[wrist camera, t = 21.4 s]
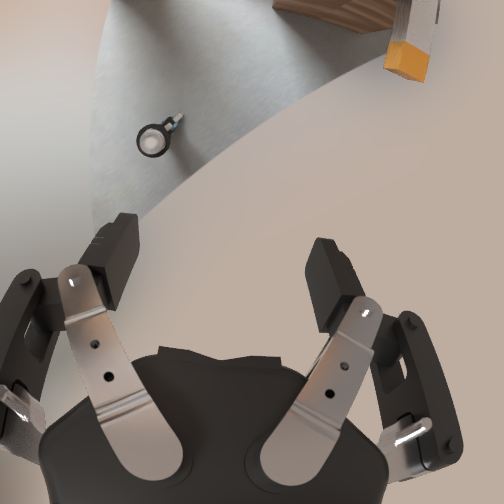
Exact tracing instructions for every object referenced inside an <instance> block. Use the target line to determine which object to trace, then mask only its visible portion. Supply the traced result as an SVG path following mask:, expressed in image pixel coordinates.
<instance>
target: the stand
mask: <svg viewBox="0 0 504 504" xmlns="http://www.w3.org/2000/svg"><path fill="white" fill-rule="evenodd" d="M396 6H397V0H274V2H273V6H272V8H276V9H281V10H285V11H290V12H294V13H298V14H302V15H306V16H310V17H313V18H317V19H320V20H323V21H326V22H330V23H333V24H336V25H338V26H341V27H344V28H347V29H350V30H352V31H355V32H357V33H360V34H364V33H369V32H374V31H380V30H386V29H392V28H393V23H394V18H395V12H396ZM439 9H440V0H438V6H437V14H436V21H435V24H437V23H438V16H439Z"/></svg>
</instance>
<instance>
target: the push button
mask: <svg viewBox="0 0 504 504" xmlns="http://www.w3.org/2000/svg"><path fill="white" fill-rule="evenodd" d="M179 115H180V116H179ZM182 116H183V114H182V113H181V112H180V113H179V114H178V115H177V116H175V117H174V118H173V117H172V118H171V117H169V118H167V119H166V120H165V121H163V122H162V123H161V124H150V125H147V126H145V127H143V128H142V129H141V130H140V131H139V133H138V135H137V140H136V142H137V147H138V149H139V151H140V152H141V153H142V154H143V155H145V156H147V157H151V158H156V157H159V156H161V155H163V154H164V153H165V152H166V151H167V150H168V148H169V145H170V137H171V136H172V135H173V134H174V133H175V132H174V133H172V132H171V131H172V130H173V129H174V128H175V127H176V126H177V125H178V124H179V122H178V121H179V120H180V118H181V117H182ZM150 128H152V129H150ZM147 129H150V130H147ZM146 130H147V131H146ZM165 143H166V145H165ZM164 145H165V147H164ZM163 147H164V149H163Z"/></svg>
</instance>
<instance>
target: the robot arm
mask: <svg viewBox="0 0 504 504" xmlns="http://www.w3.org/2000/svg"><path fill="white" fill-rule="evenodd" d="M139 248H140V242H139V230H138V217H137V214H130V213H120V214H119V215H118V216H117V218H116V219H115V221H114V222H113V223H107V224H106V225H105V226H103V227H102V228H100V230H99V231H98V233H97V234H96V236H95V238H94V239H93V240H92V242H91V244H90V245H89V246H88V248H87V249H86V251H85V253H84V254H83V256H82V257H81V259H80V260H79V262H78V264H75V265H71V266H69V267H67V268H65V269H64V270H63V271H62V272H61V273H60V274H59V277H57V278H48V279H42V278H41V276H40V273H39V272H38V271H37V270H35V269H27V270H24V271H22V272H20V273H19V274H18V275H17V276H16V277H15V278H14V280H13V281H12V283H11V285H10V287H9V289H8V290H7V292H6V294H5V295H4V297H3V299H2V301H1V303H0V449H1V450H3V451H6V452H10V453H12V454H14V455H16V456H19V457H23V458H25V459H27V460H29V461H31V462H33V463H35V464H38V465H40V467H41V470H42V473H43V476H44V478H45V482H46V485H47V490H48V494H49V500H50V504H381V503H382V498H383V495H384V492H385V490H386V486H387V484H390V483H392V482H396V481H399V482H401V481H406V480H409V479H413V478H416V477H419V476H422V475H425V474H428V473H431V472H434V471H436V470H439V469H442V468H444V467H447V466H449V465H452V464H454V463H456V462H457V461H458V460H459V459H460V457H461V455H462V452H463V439H462V435H461V431H460V426H459V422H458V419H457V415H456V411H455V408H454V404H453V401H452V398H451V394H450V391H449V388H448V385H447V382H446V379H445V376H444V373H443V370H442V368H441V365H440V362H439V359H438V357H437V354H436V352H435V349H434V346H433V344H432V342H431V339H430V337H429V334H428V332H427V329H426V327H425V325H424V323H423V321H422V320H421V318H420V317H419V316H417V315H416V314H415V313H413V312H411V311H403V312H402V313H401V314H400V315H399V317H398V318H396V317H393V316H389V315H386V314H383V312H382V309H381V307H380V306H379V304H378V303H377V302H376V301H374V300H373V299H371V298H369V297H366V295H365V293H364V291H363V288H362V286H361V284H360V281H359V279H358V277H357V275H356V273H355V270H354V269H353V266H352V264H351V262H350V260H349V258H348V257H347V256H346V255H345V254H344V253H343V252H341V251H339V250H338V248H337V245H336V243H335V241H334V240H332V239H326V238H319V237H318V238H317V239H316V240H315V242H314V245H313V248H312V250H311V253H310V256H309V258H308V261H307V263H306V267H305V277H306V281H307V285H308V289H309V292H310V296H311V300H312V304H313V308H314V312H315V316H316V320H317V325H318V329H319V332H320V333H329V336H330V337H329V339H328V340H327V342H326V344H325V345H324V347H323V348H322V350H321V352H320V353H319V355H318V357H317V358H316V360H315V361H314V363H313V365H312V366H311V368H310V369H309V371H308V372H307V374H306V375H305V376H303V375H302V374H300V373H298V372H297V371H295V370H293V369H290V368H287V367H285V366H282V365H281V358H280V357H266V356H247V357H241V358H235V359H228V360H217V359H213V358H210V357H207V356H204V355H201V354H199V353H196V352H193V351H190V350H184V349H176V348H169V347H163V346H159V349H158V354H156V355H149V356H145V357H142V358H139V359H137V360H134V361H132V362H130V360H129V358H128V356H127V354H126V352H125V350H124V349H123V346H122V344H121V342H120V340H119V338H118V336H117V333H116V331H115V329H114V327H113V325H112V322H111V320H110V318H109V315H108V313H107V310H113V311H116V309H117V307H118V304H119V301H120V299H121V296H122V293H123V291H124V288H125V286H126V283H127V281H128V278H129V276H130V273H131V271H132V268H133V266H134V264H135V262H136V259H137V257H138V254H139ZM30 321H31V323H30V326H29V328H28V330H27V333H26V335H25V338H24V334H25V332H26V329H27V327H28V324H29V322H30ZM65 330H66V331H67V335H68V338H69V342H70V345H71V348H72V351H73V354H74V357H75V360H76V363H77V366H78V369H79V372H80V374H81V377H82V380H83V382H84V385H85V387H86V390H87V392H88V396H87V397H86V398H85V399H84V400H82V401H81V402H80V403H78V404H77V405H76V406H75V407H73V408H72V409H71V410H69V412H67V413H66V414H64V416H62V417H61V418H59V419H58V420H57V421H56V422H54V423H53V424H52V425H51V426H49V427H48V428H47V429H46V428H45V425H46V421H45V413H44V410H43V407H42V406H41V404H40V397H41V393H42V389H43V385H44V382H45V378H46V374H47V371H48V367H49V364H50V361H51V357H52V354H53V351H54V348H55V345H56V342H57V339H58V336H59V334H60V331H65ZM402 357H403V359H404V362H405V365H406V368H407V376H406V379H405V378H404V375H403V372H402V368H401V365H400V361H399V360H400V359H401V358H402ZM369 365H370V369H371V373H372V377H373V381H374V386H375V390H376V395H377V400H378V405H379V410H380V415H381V420H382V425H383V431H382V433H381V435H380V438H379V442H378V443H377V445H375V444H374V443H373V442H372V441H371V440H370V439H369V438H367V437H366V436H365V435H364V434H363V433H362V432H361V431H360V430H359V429H358V428H357V427H356V426H355V425H354V424H353V423H352V422H350V420H348V419H347V418H346V416H347V414H348V412H349V410H350V408H351V406H352V404H353V402H354V399H355V397H356V395H357V393H358V391H359V389H360V386H361V384H362V382H363V379H364V377H365V375H366V372H367V370H368V367H369Z"/></svg>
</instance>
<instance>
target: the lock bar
mask: <svg viewBox="0 0 504 504" xmlns="http://www.w3.org/2000/svg"><path fill="white" fill-rule="evenodd" d="M437 6H438V0H397V6H396V12H395V18H394V23H393V28H392V33H391V38H390V42H389V45H388V49H387V54H386V58H385V62H384V67H383V68H385V69H387V70H389V71H391V72H393V73H395V74H398V75H399V76H402V77H404V78H405V79H408V80H414V81H418V82H424V79H425V75H426V71H427V66H428V62H429V57H430V50H431V45H432V39H433V34H434V27H435V21H436V14H437Z"/></svg>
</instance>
